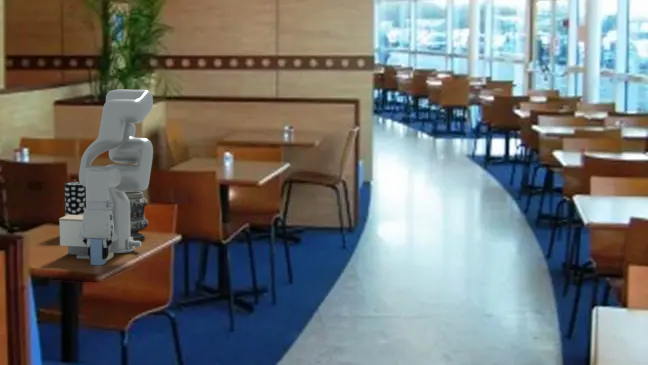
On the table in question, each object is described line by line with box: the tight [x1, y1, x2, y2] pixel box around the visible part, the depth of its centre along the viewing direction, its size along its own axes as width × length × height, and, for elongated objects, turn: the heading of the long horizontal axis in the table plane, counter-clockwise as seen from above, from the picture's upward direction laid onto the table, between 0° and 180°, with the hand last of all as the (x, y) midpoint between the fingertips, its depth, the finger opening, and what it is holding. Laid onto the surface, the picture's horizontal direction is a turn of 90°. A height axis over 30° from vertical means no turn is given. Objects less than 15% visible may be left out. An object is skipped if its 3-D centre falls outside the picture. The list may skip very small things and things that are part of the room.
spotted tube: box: [64, 181, 86, 216], centre depth 385 cm, size 8×8×20 cm
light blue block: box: [90, 239, 114, 266], centre depth 340 cm, size 4×14×9 cm, turn 172°
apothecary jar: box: [124, 191, 149, 241], centre depth 379 cm, size 12×12×18 cm
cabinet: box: [58, 215, 88, 255], centre depth 346 cm, size 12×8×14 cm
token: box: [76, 253, 90, 260], centre depth 346 cm, size 5×5×2 cm
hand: (98, 257), depth 336 cm, fingers closed on light blue block, 4 cm apart
